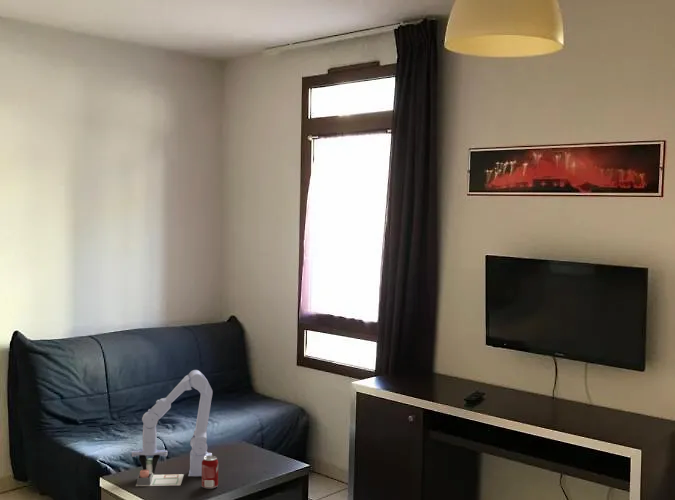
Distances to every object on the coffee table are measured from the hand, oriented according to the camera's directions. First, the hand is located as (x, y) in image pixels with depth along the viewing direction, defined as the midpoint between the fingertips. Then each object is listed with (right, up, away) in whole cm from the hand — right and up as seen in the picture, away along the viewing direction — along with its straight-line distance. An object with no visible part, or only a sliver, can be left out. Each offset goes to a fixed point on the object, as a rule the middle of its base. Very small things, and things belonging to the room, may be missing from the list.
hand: (149, 472), depth 321 cm
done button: (0, -1, -7) cm, 7 cm away
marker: (0, -2, 0) cm, 2 cm away
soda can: (+27, -3, -9) cm, 29 cm away
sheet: (+5, -2, -3) cm, 6 cm away
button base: (0, -2, -7) cm, 7 cm away
